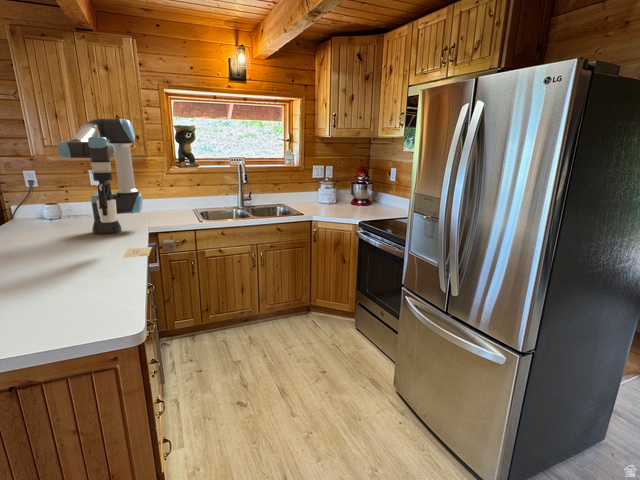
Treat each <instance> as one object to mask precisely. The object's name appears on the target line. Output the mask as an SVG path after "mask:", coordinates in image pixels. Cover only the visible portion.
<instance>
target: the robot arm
mask: <svg viewBox="0 0 640 480" xmlns="http://www.w3.org/2000/svg"><path fill="white" fill-rule="evenodd" d="M78 130H79V131H78V132H77V133H76V134H75V135H74V136H72V138H71V139H69V141H67V140H65V141H60V142H58V144H57V151H58V154H59V155H60V157H61V158H62V159H90V163H91V164H89V165H90V167H91V168H92V178H93V181H95V182H98V185H97V186H96V187H97V188H96V189H97V193H96V194H95V193H94V194H92V195H91V198H90V199H91V201H90V204H91V207H92V213H93V219H94V220H93V225H92V228H91V229H92V230H91V231H92V234H93V235H110V234H116V233H120V232H122V225H121V223H120V222H119V220H118V219H117V221H115V222H110V216H109V209H108V207H107V201H109V200H111V199H115V200H116V211H117V215H121V214H122V215H123V214H139V213H141V211H142V208H143V194H142V193H141V192H140V191H139V189H137V188H136V184H135V182H136V181H135V175H134V168H133V161H132V152H131V146H132V145H133V142H134V141H135V140H136V137H135V136H136V135H135V131H134V128H133V125H132V122H131V121H130V120H128V119H124V118H95V119H94V118H93V119H90V120H89V121H86V122H84V123H83V124H82V125H81V126H80V127H79V129H78ZM108 141H109V142H108ZM113 156H114V162H115V169H116V174H117V175H116V176H117V177H116V178H117V182H118V183H117V184H118V189H117V190H116V194H114V192H113V191H112V188H111V187H112V186H111V185H112V184H111V183H110V182H109V181H112V180H113V174H112V173H113V172H112V166H111V165H112V164H111V157H113ZM97 200H99V209H101V210H102V217H103V222H101V221H100V216H99V212H98V208H97V203H96V201H97Z"/></svg>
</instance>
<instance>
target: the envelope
mask: <svg viewBox="0 0 640 480" xmlns="http://www.w3.org/2000/svg"><path fill="white" fill-rule="evenodd" d="M152 249H153V247H152V246H147V247H145V246H144V247H134V248H127V250H126V251H125V253H124V255H123V257H122V259H123V258H125V259H126V258H137V257H138V258H139V257H150V253H151V250H152Z"/></svg>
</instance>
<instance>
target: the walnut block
mask: <svg viewBox="0 0 640 480" xmlns="http://www.w3.org/2000/svg"><path fill="white" fill-rule="evenodd" d="M161 243H162V252H164V253H165V252H175V251H176V249H177V247H176V245H177V244H176V239H164V240H163V241H162V242H161Z"/></svg>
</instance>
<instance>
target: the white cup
mask: <svg viewBox="0 0 640 480" xmlns="http://www.w3.org/2000/svg"><path fill="white" fill-rule="evenodd" d="M96 203H97V208H98V212H99V216H100V221H101V222H103V217H102V210H101V209H99V200H97V201H96ZM107 207H108V209H109V216H110V222H115V221H117V220H118V214H117V211H116V200H115V199H111V200H109V201H107Z"/></svg>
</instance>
